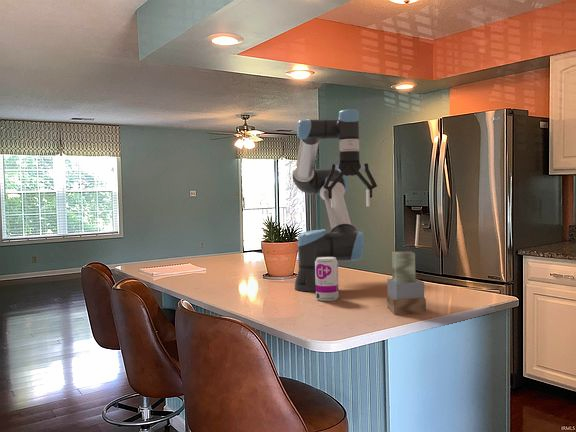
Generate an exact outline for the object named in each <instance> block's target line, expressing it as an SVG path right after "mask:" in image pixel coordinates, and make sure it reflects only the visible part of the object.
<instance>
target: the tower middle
mask: <svg viewBox="0 0 576 432" xmlns="http://www.w3.org/2000/svg"><path fill="white" fill-rule="evenodd" d="M386 281H387V283H386V284H387V294H388V295H390V296H392V297H393V298H395V299H417V298H425V282H424V281H422V280H420V279H418V278H417V277H415V282H395V281H394V280H393V279H392V278H387V280H386Z"/></svg>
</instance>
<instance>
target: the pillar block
mask: <svg viewBox="0 0 576 432" xmlns="http://www.w3.org/2000/svg"><path fill="white" fill-rule="evenodd" d="M391 271H392V273H391V276H392V277H391V279H393V280H394V281H395V282H415V278H416V253H415V252H412V251H411V250H410V251H407V250H406V251H405V250H404V251H391Z"/></svg>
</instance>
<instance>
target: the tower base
mask: <svg viewBox="0 0 576 432" xmlns="http://www.w3.org/2000/svg"><path fill="white" fill-rule="evenodd" d="M386 300H387V301H386V303H387V304H386V306H387V309H388V310H389V311H390V312H391V314H392V315H394V316H395V315H396V316H397V315H398V316H399V315H426V314H427V299H426V298H425V297H424V298H417V299H395V298H393V297H392V296H390V295H388V293H386Z"/></svg>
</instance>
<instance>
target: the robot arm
mask: <svg viewBox="0 0 576 432" xmlns="http://www.w3.org/2000/svg"><path fill="white" fill-rule="evenodd" d="M359 117H360V116H359V111H358V110H357V109H342V110H340V111H339V112H338V119H337V118H334V119H333V118H332V119H310V118H309V119H308V118H307V119H300V120H298V121H297V125H296V134H297V139H299V140H300V141H299V147H298V152H297V158H296V165H295V167H294V168H293V170H292V173H291V175H292V181H293V183H294V185H295V186H296V187H297V188H298V190H300V191H301V192H303V193H305V194H307V195H319V196H320V198H321V199H322V200H324V204H325V207H326V213H327V217H328V222H329V224H330V230H329V232H328V230H327V229H324V228H322V229H315V230H308V231H304V232H301V233H299V234H298V238H297V250H298V253H297V254H298V255H297V256H298V259H297V260H298V270H297V273H296V274H297V275H296V278H295V281H294V289H295V290H297V291H301V292H316V282H315V261H316V259H317V258H318V257H336V260H337V262H354V261H355V262H357V261H360V260H361V259H362V258H363V254H364V246H365V241H364V239H365V238H364V237H365V236H364V233H363V231H359V230H358V231H357V228H356V226H355V225H353V224H352V222H351V219H350V215H349V211H348V208H347V205H346V204H347V203H346V201H345V197H344V195H345V194H346V192H347V190H348V180H347V176H348V177H349V176H353V177H354V176H357V178H358V179H359V180H361V182H362V184H364V185H365V186H366V188H367V189H366V190H365V193H366V194H365V198H366V199H365V200H366V201H365V202H366V203H365V204H366V208H367V207H369V208H370V206H371V205H370V204H371V203H370V201H371V200H370V199H371V198H373V189H375V188H377V187H378V184H377V182H376V181H375V178H374V177H373V174H372V173H371V171H370V169H369V164H368V163H363V164H361V163H360V151H359V150H360V118H359ZM321 139H322V140H324V139H325V140H326V139H337V140H339V144H338V145H339V146H338V147H339V148H338V149H339V151H340V152H339V164H335V163H333V164H331V167H330V168H315V169H314V165H315V161H316V156H317V152H318V151H317V150H318V147H319V143H320V142H319V141H320V140H321ZM361 169H362V170H364V173H365V174H366V177H367V178H368V180H369V182H368V180H367V178H365V176H363V174H362V173H361V172H360V170H361Z"/></svg>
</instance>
